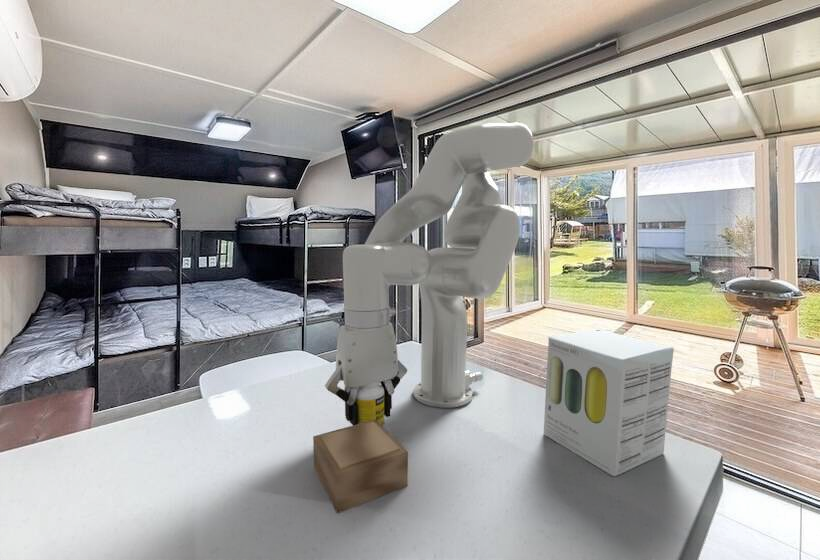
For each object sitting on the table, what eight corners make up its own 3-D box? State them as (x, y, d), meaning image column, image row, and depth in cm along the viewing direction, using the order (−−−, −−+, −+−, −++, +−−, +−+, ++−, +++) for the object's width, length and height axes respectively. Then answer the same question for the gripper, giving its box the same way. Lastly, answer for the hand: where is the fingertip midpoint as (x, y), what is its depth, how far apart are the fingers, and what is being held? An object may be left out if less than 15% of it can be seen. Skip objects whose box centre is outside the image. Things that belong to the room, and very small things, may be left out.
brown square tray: (376, 449, 58) (376, 417, 58) (407, 485, 50) (407, 449, 49) (314, 468, 53) (313, 434, 52) (337, 513, 45) (336, 473, 44)
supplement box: (540, 434, 63) (546, 335, 61) (590, 417, 69) (596, 327, 67) (614, 479, 51) (623, 359, 49) (665, 454, 58) (676, 346, 56)
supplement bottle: (379, 438, 61) (378, 382, 60) (349, 434, 62) (347, 380, 61) (388, 421, 66) (387, 370, 65) (359, 419, 67) (358, 368, 66)
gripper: (400, 308, 69) (401, 398, 71) (310, 319, 60) (314, 422, 63) (421, 315, 63) (421, 414, 65) (324, 329, 54) (328, 443, 56)
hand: (369, 417), depth 64 cm, fingers closed on supplement bottle, 5 cm apart
